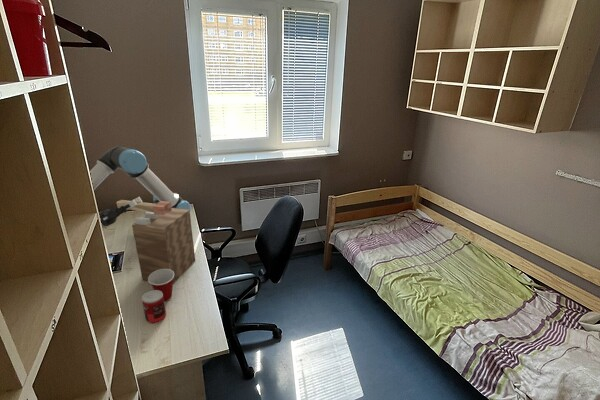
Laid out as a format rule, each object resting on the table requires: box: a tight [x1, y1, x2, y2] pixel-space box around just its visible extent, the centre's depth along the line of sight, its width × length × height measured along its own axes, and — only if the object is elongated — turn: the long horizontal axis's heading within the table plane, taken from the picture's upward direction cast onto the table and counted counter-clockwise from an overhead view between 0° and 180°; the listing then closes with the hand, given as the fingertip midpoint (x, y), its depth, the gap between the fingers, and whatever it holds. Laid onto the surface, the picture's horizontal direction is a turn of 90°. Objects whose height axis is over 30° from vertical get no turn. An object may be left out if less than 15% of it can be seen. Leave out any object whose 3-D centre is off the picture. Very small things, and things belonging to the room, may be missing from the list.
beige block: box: [116, 199, 172, 215], centre depth 150 cm, size 6×25×4 cm, turn 78°
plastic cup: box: [147, 269, 174, 303], centre depth 145 cm, size 11×11×12 cm
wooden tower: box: [131, 208, 196, 285], centre depth 162 cm, size 22×16×30 cm
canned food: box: [141, 289, 167, 324], centre depth 134 cm, size 8×8×11 cm
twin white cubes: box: [134, 212, 160, 226], centre depth 152 cm, size 9×6×2 cm, turn 168°
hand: (137, 200), depth 150 cm, fingers closed on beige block, 3 cm apart
